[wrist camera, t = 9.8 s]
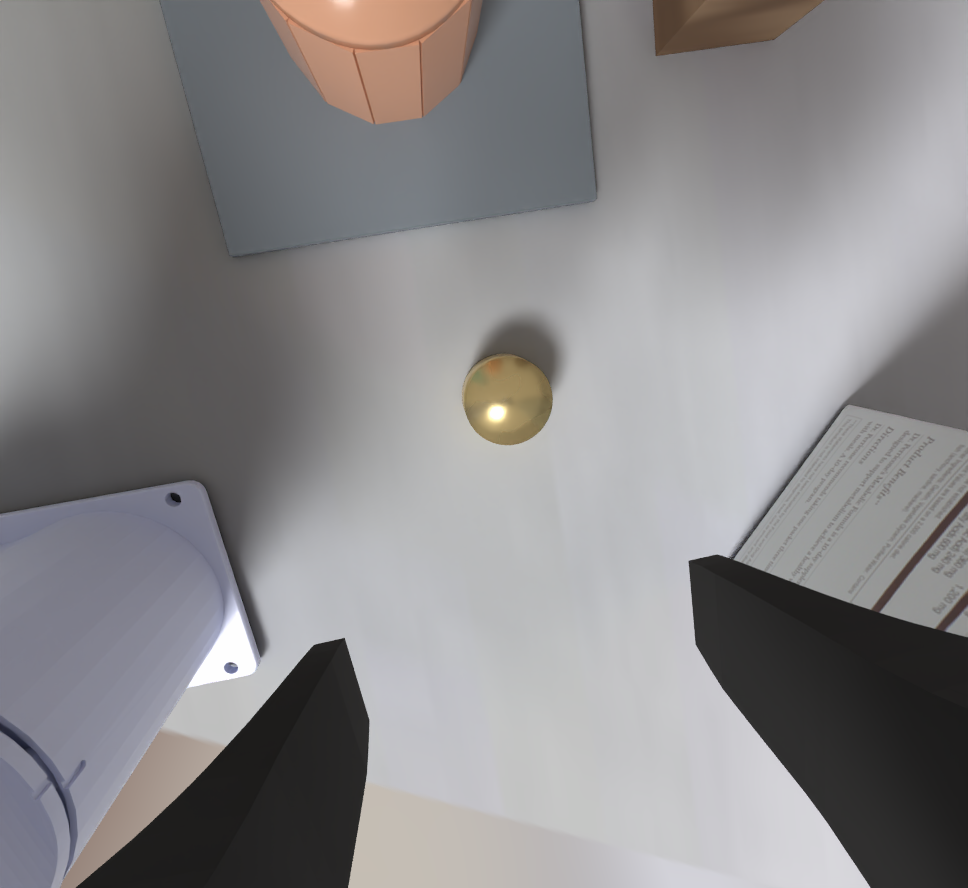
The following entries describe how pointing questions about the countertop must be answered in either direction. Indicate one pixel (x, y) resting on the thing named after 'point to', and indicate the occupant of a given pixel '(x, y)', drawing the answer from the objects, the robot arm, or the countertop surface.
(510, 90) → the slate mat
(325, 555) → the countertop surface
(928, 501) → the supplement box
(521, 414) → the brass token
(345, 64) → the peach faceted cylinder
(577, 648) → the countertop surface
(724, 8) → the walnut block
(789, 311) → the countertop surface
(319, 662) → the robot arm
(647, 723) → the countertop surface
